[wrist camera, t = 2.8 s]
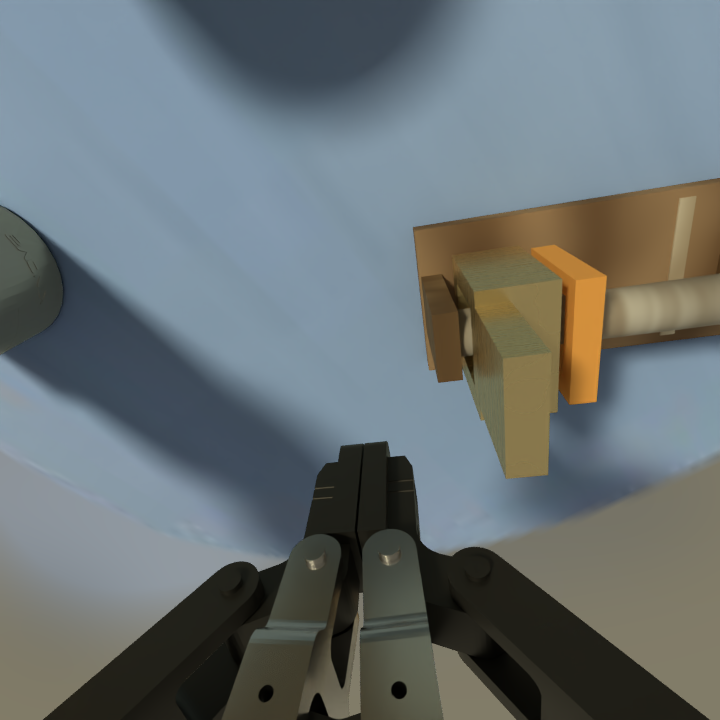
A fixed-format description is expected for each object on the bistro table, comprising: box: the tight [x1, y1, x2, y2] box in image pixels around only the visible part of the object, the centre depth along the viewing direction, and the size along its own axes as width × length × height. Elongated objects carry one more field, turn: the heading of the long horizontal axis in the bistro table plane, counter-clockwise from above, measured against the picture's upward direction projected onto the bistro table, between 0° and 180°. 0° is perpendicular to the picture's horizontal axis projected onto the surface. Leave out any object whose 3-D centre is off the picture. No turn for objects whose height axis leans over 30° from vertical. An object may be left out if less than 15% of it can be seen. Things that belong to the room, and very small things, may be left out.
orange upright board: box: [531, 245, 607, 405], centre depth 22 cm, size 1×6×6 cm, turn 9°
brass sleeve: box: [452, 245, 562, 479], centre depth 20 cm, size 4×6×11 cm, turn 10°
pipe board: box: [413, 178, 720, 383], centre depth 23 cm, size 18×9×8 cm, turn 100°
